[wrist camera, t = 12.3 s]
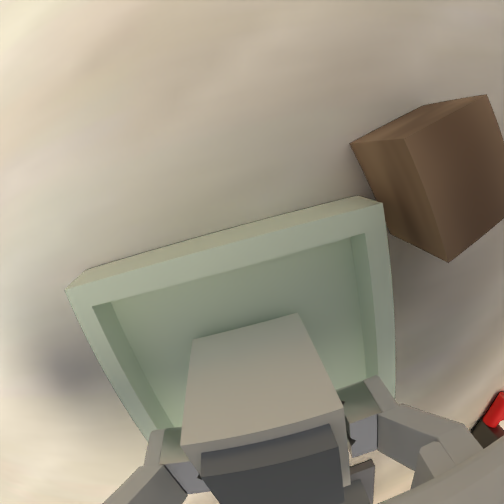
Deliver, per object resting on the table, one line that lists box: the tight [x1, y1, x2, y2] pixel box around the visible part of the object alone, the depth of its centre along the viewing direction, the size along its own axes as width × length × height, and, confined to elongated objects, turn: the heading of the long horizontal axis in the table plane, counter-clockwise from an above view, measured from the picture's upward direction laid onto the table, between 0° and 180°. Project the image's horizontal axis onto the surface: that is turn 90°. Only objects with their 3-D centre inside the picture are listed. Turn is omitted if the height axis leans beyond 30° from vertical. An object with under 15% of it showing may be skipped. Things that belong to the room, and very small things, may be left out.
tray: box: [65, 196, 396, 441], centre depth 12 cm, size 11×11×2 cm
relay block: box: [180, 312, 351, 504], centre depth 9 cm, size 4×4×6 cm
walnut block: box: [349, 94, 504, 263], centre depth 10 cm, size 4×4×4 cm
